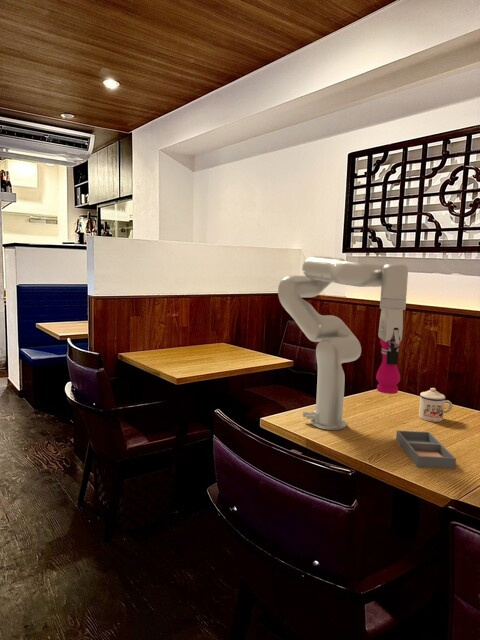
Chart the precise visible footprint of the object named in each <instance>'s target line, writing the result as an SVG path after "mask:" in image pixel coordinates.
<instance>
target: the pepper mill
mask: <svg viewBox="0 0 480 640" xmlns="http://www.w3.org/2000/svg"><path fill="white" fill-rule="evenodd" d="M379 341H380V345H381V354H382V353H383V360H382V359H381V360H382V361H381V364H380V366H379V368H378V370H377V372H376V376H375V379H376V381H377V382H378V384H376V385H377V386H376V391H377V392H379V393H381V394H387V395H391V394H392V395H394V394H398V392H399V386H398V384H399V383H400V382H401V373H400V371H399V368H398V364H397V365H390V364H387V363H386V360H387V351H388V341H387V342H385V341H383V340H382V338H381V339H380V340H379ZM390 341H394V340H392V339H391V340H390ZM401 343H402V340H401V341H400V344H399V347H400V346H401ZM392 344H394V343H391V345H392ZM382 347H383V348H382Z"/></svg>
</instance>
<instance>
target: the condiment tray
mask: <svg viewBox="0 0 480 640" xmlns="http://www.w3.org/2000/svg"><path fill="white" fill-rule="evenodd" d="M395 434H396V435H395V440H396V441H397V443H398V444H399V445H400V447H401V448H402V449H403V451H404V452H405V453H406V454H407V456H408V457H409V459H411V460H410V461H412V462H413V464H414V465H415V466H416V467H417V468H425V469H426V468H428V469H430V468H431V469H450V470H453V469H454V470H455V469H456V463H457V458H456V457H455V456H454V455H453V454H452V453H451V452H450V451H449V450H448V449H447V448H446V447H445V446H444V445H443V443H441V442H440V441H439V440H438V439H437V438H436V437H435V436H434V435H433V434H432V432H431V431H420V430H419V431H418V430H416V431H415V430H414V431H413V430H399V429H398V430H396V433H395Z"/></svg>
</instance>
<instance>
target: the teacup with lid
mask: <svg viewBox="0 0 480 640" xmlns="http://www.w3.org/2000/svg"><path fill="white" fill-rule="evenodd" d="M445 403H447V404H449V407H448V409H447V410H445ZM452 409H453V403H452V402H451V401H450V400H448V399H447V400H446V396H445V395H444V394H443V393H440V392H439V391H437V389H436V388H435V387H430V389H429V390H426V391H422V392H420V394H419V408H418V417H419V418H420V419H422V420H424V421H427V422H431V423H432V422H433V423H434V422H435V423H436V422H437V423H438V422H442V421H443V420H444V414H448V413H450V411H451V412H452Z"/></svg>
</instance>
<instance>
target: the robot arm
mask: <svg viewBox="0 0 480 640" xmlns="http://www.w3.org/2000/svg"><path fill="white" fill-rule="evenodd" d="M301 268H302V273H303V274H304V275H289V276H286V277H284V278H282V279H281V280H280V281H279V284H278V287H277V295H278V299H279V303H280V304H281V306H282V308H283V309H284V310H285V311H286V312H287V313H288V314H289V316H290V317H291V318H292V319H293V320H294V321H295V323H296V325H297V326H298V327H299V329H300V330H301V331H302V333H303V334H304V335H305V337H307V338H306V339H308V340H309V341H311V342H314V343H318V344H317V345H316V348H315V357H316V363H317V377H316V378H317V381H316V382H317V384H316V400H315V401H316V402H315V408H314V409H313V410H312V411H302V417H303V418H306V419H308V420H309V419H310V424H311V425H312V426H314V427H315V428H318V429H321V430H327V431H338V430H343V429H346V428H347V423H348V422H347V421H346V420H345V419H343V413H344V399H345V398H344V397H345V372H344V369H343V366H342V364H344V363H345V364H346V363H351V362H354V361H357V360H358V359H359V358H360V357H361V355H362V354H361V353H362V346H361V342H360V341H359V339H358V338H357V336H355V334H354V333H353V332H352V331H351V330H350V328H349V326H347V325H346V323H345V322H344V321H343V320H342V319H341V318H340V317H338V316H335V315H331V314H330V315H329V314H328V315H327V314H326V315H325V314H324V315H322V314H320V313H319V312H318V311H317V310H316V309H315V308H314V307H313V305H312V304H311V303H310V302H308V301H306V300H305V299H303V298H315V297H317V296H318V295H320V294H321V293H322V292H323V291H324V290H325V289H326V288H328V286H330V285H331V284H332V283H335V284H339V285H345V286H351V287H359V288H360V287H361V288H364V287H365V288H366V287H368V288H369V287H371V288H376V287H377V288H379V287H380V302H379V309H380V310H381V311H380V316H379V324H378V326H379V327H378V333H377V335H378V338H379V339H380V340H381V338H382V340H383V341H385V342H387V341H388V351H387V360H386V363H387V364H390V365H397V366H398V362H399V361H398V357H399V347H400V346H399V344H400V341H401V342H402V340H403V331H404V330H403V329H404V312H403V311H405V310H406V307H407V295H408V294H407V293H408V291H407V290H408V279H409V278H408V277H409V268H408V266H407V265H406V264H402V263H379V262H378V263H377V262H357V261H346V260H345V259H343V258H339V257H332V256H316V255H315V256H309V257H308V258H306V259H305V261H304V262H303V263H302V267H301ZM391 339H392V340H394V341H390V340H391ZM391 343H394V344H392V345H391ZM400 345H401V344H400ZM382 348H383V347H382V346H381V349H382ZM381 360H383V353H382V352H381Z"/></svg>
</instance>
